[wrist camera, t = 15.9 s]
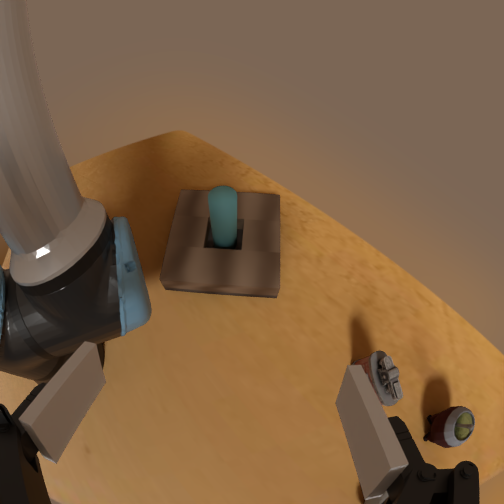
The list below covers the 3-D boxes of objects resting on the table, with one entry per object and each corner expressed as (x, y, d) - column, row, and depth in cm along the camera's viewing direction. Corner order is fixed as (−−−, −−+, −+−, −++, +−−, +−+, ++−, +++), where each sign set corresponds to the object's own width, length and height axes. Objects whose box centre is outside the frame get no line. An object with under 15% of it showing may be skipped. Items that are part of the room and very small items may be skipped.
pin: (212, 252, 47) (205, 207, 37) (214, 232, 49) (209, 185, 39) (236, 254, 48) (236, 208, 37) (237, 233, 50) (238, 186, 39)
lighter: (346, 364, 40) (374, 351, 31) (365, 357, 40) (395, 342, 32) (361, 410, 36) (392, 409, 27) (379, 402, 36) (413, 398, 28)
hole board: (165, 289, 45) (159, 279, 41) (184, 203, 54) (181, 189, 50) (276, 298, 45) (279, 288, 41) (277, 208, 54) (279, 194, 51)
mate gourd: (454, 425, 33) (513, 419, 20) (426, 457, 30) (486, 462, 17) (437, 399, 36) (498, 386, 23) (408, 430, 33) (469, 430, 20)
